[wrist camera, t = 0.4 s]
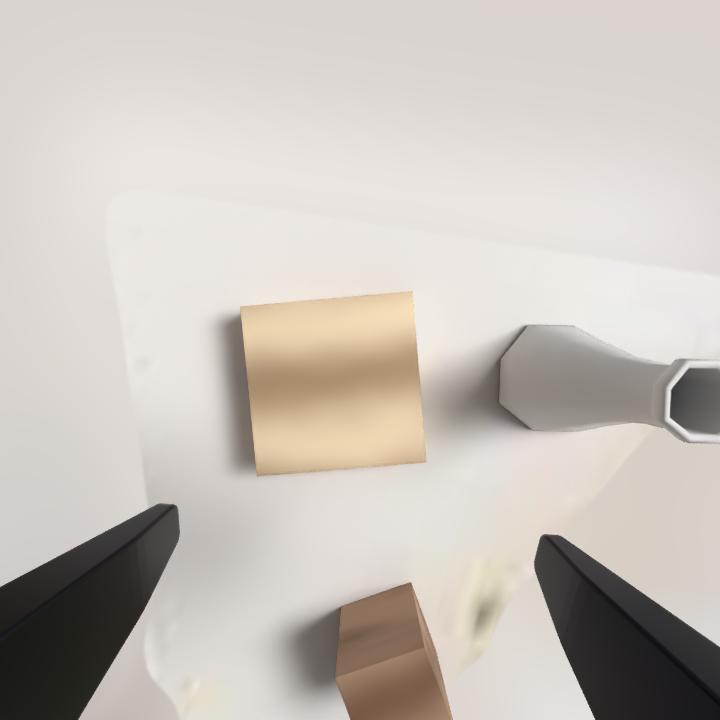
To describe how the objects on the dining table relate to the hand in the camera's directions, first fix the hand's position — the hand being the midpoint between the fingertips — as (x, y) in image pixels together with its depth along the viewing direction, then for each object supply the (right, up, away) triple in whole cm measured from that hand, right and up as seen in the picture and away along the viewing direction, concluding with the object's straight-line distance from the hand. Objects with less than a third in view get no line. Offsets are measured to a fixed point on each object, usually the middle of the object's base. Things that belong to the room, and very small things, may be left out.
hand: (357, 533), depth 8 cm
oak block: (-1, +3, +14) cm, 15 cm away
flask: (+13, +3, +14) cm, 19 cm away
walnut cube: (+2, -14, +14) cm, 20 cm away
